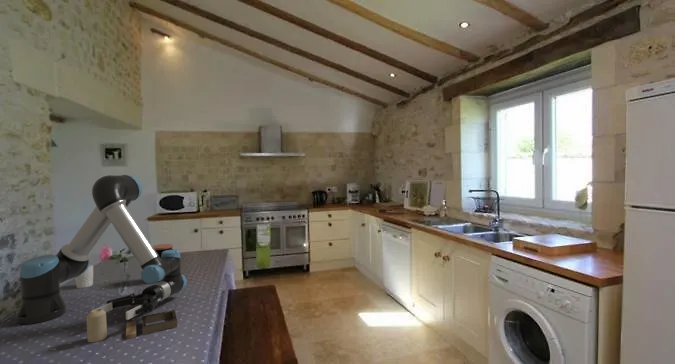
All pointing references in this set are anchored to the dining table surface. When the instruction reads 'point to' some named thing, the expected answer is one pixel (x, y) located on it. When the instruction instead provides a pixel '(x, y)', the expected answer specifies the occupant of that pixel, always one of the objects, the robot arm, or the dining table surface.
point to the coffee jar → (162, 249)
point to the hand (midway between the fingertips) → (110, 314)
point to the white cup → (85, 278)
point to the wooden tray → (161, 325)
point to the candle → (96, 325)
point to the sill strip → (131, 329)
